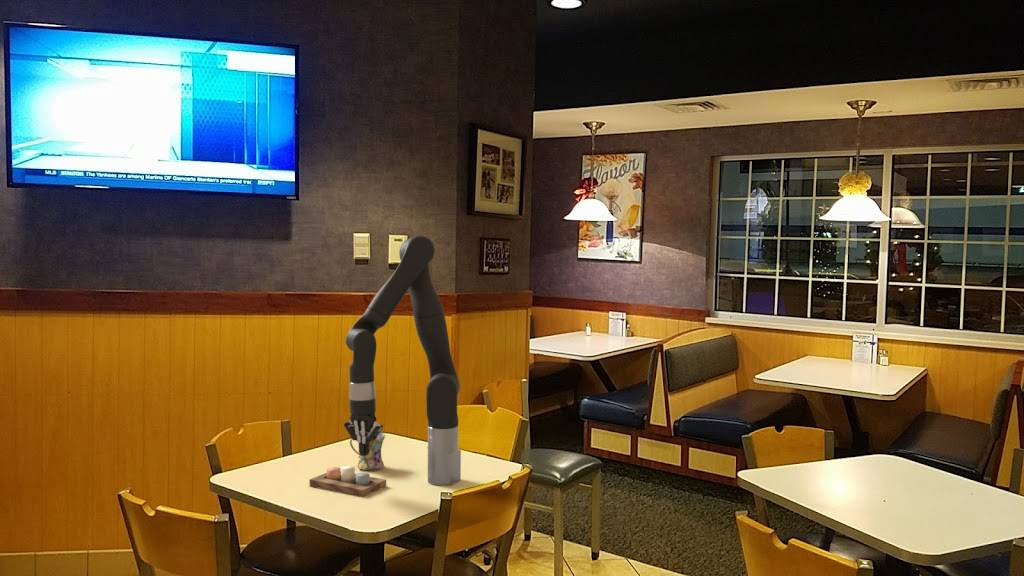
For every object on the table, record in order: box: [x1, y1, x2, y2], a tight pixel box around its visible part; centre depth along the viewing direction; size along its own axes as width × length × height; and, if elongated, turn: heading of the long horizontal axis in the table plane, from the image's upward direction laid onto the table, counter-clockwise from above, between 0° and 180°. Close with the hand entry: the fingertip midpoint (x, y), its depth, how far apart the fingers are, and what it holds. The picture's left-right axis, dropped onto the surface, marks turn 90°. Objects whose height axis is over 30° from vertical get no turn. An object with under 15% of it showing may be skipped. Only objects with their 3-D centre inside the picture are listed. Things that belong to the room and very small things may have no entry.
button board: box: [308, 470, 387, 498], centre depth 237 cm, size 20×11×2 cm, turn 62°
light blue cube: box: [355, 472, 371, 486], centre depth 234 cm, size 4×4×4 cm
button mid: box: [340, 465, 356, 483], centre depth 237 cm, size 4×4×4 cm
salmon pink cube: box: [326, 466, 341, 480], centre depth 239 cm, size 4×4×4 cm
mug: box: [349, 432, 386, 471], centre depth 256 cm, size 12×9×11 cm
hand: (364, 455), depth 233 cm, fingers closed
